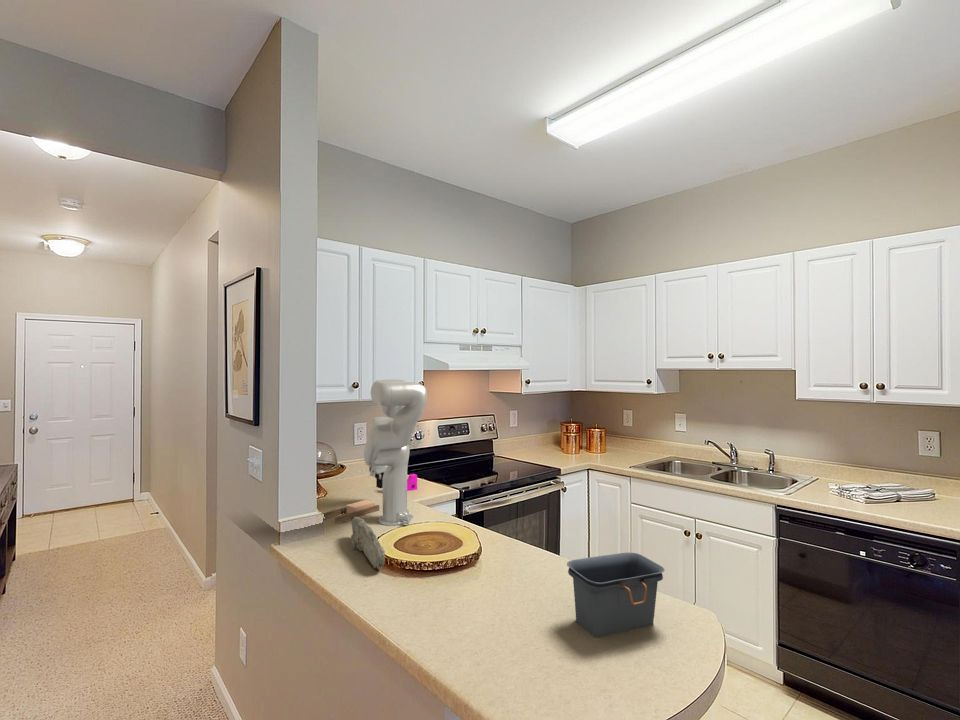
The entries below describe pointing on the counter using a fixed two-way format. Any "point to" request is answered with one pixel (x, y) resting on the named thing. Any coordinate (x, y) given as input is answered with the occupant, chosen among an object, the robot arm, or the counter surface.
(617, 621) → the storage bin
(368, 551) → the elongated rock
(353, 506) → the block
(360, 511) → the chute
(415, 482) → the toy block
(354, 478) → the counter surface
